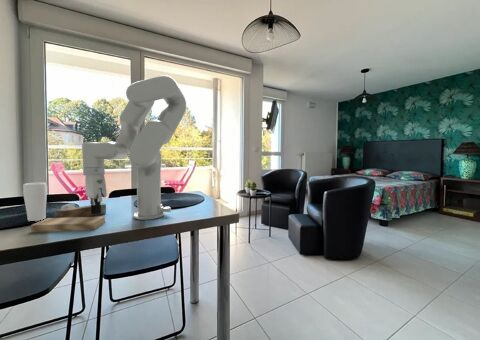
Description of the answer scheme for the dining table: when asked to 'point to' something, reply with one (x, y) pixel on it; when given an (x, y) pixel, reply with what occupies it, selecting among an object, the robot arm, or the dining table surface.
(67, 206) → the stop block
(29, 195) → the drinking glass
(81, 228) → the board
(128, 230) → the dining table surface
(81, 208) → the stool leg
